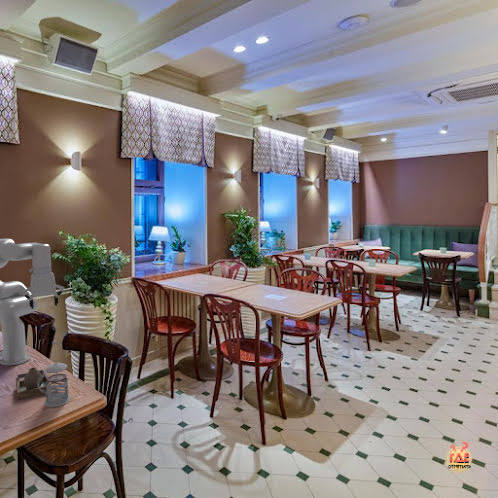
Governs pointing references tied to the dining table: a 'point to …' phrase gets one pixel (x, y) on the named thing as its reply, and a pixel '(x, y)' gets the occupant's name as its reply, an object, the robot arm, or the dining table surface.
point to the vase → (32, 379)
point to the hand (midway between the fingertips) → (44, 306)
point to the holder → (25, 393)
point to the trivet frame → (26, 373)
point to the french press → (54, 396)
